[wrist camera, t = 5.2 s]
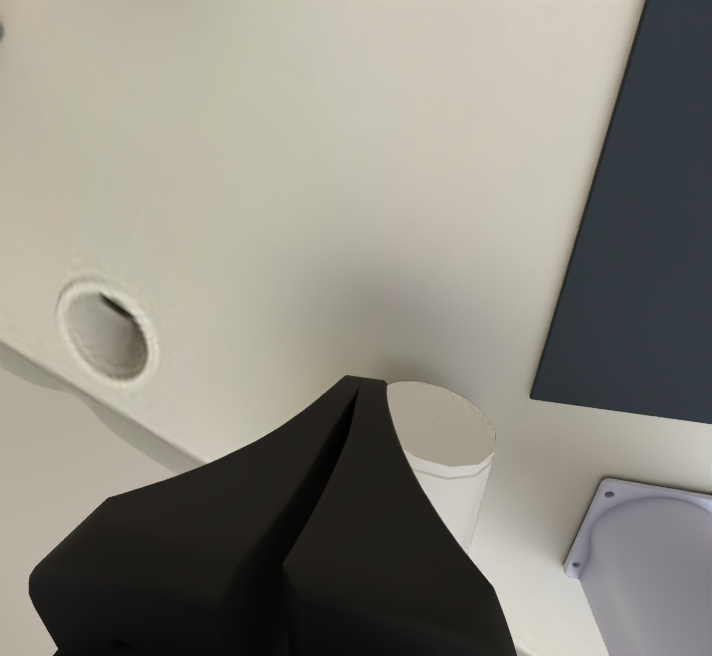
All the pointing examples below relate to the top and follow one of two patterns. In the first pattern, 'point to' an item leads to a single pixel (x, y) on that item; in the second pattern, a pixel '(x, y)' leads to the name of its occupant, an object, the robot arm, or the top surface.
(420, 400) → the foam cup
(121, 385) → the top surface
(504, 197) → the top surface
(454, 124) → the top surface
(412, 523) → the robot arm
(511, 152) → the top surface
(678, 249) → the rubber mat
